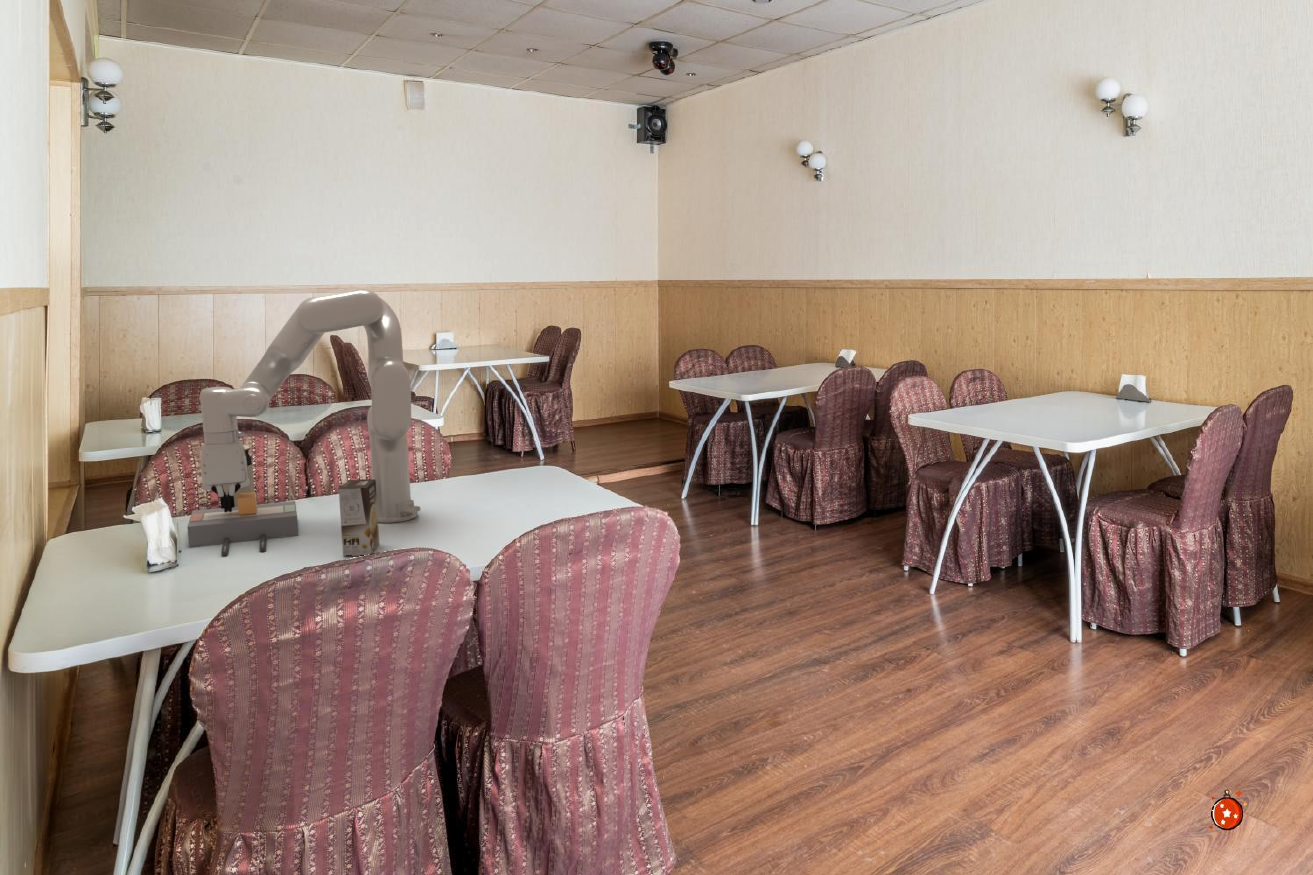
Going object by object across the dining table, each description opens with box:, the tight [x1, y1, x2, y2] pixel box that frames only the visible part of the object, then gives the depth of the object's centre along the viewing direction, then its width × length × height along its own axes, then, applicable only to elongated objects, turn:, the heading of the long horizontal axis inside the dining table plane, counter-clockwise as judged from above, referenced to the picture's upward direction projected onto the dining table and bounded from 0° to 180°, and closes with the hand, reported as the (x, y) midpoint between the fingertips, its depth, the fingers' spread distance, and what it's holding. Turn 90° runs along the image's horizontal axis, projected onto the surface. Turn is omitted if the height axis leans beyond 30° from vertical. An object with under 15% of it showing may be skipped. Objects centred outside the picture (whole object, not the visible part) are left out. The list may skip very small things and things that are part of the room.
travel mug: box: [222, 444, 256, 507], centre depth 237 cm, size 8×8×18 cm
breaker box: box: [186, 500, 299, 557], centre depth 214 cm, size 24×27×5 cm
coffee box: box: [338, 478, 380, 557], centre depth 203 cm, size 9×6×16 cm
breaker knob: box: [237, 491, 258, 515], centre depth 219 cm, size 4×6×4 cm, turn 23°
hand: (228, 510), depth 217 cm, fingers closed
